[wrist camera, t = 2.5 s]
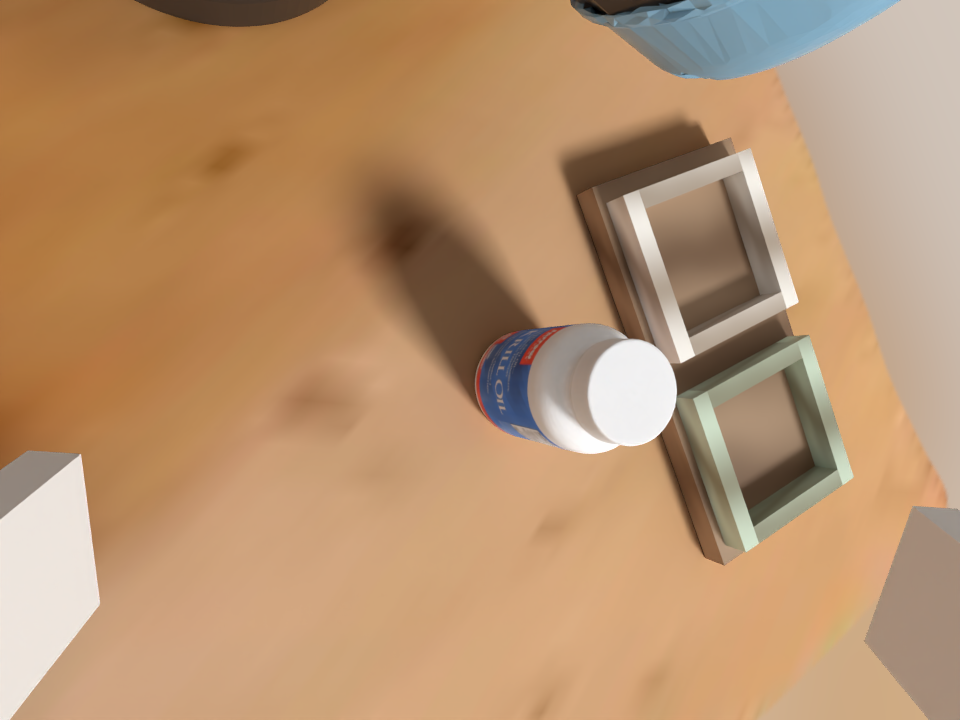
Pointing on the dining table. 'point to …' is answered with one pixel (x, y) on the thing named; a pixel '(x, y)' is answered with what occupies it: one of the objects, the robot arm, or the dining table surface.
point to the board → (721, 342)
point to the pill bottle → (576, 387)
